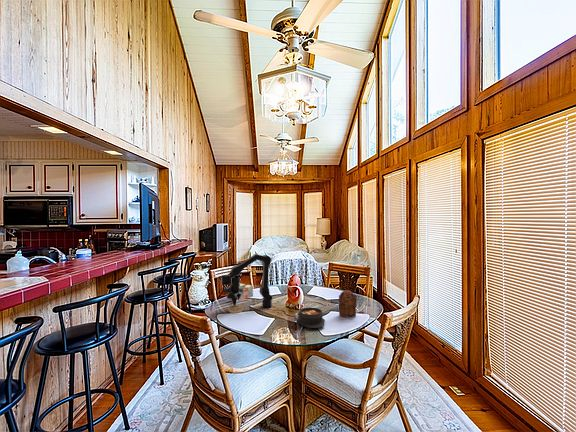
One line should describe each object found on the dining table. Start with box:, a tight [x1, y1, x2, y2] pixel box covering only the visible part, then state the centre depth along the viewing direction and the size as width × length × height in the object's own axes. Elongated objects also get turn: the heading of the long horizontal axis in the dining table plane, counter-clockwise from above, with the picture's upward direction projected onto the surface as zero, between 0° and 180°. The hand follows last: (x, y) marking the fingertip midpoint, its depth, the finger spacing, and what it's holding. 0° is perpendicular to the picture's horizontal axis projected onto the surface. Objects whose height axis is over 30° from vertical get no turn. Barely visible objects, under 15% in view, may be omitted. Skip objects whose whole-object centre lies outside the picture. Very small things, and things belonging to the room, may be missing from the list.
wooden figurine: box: [338, 289, 357, 319], centre depth 216 cm, size 12×6×18 cm, turn 95°
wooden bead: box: [228, 303, 244, 314], centre depth 230 cm, size 10×10×4 cm
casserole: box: [296, 307, 326, 329], centre depth 202 cm, size 25×19×8 cm
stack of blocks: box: [229, 283, 254, 302], centre depth 262 cm, size 21×6×12 cm, turn 144°
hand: (235, 304), depth 230 cm, fingers open, 4 cm apart
